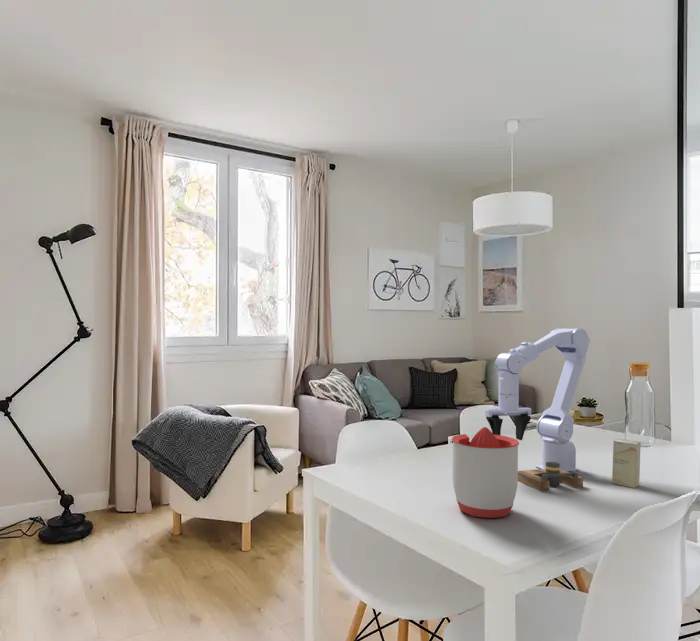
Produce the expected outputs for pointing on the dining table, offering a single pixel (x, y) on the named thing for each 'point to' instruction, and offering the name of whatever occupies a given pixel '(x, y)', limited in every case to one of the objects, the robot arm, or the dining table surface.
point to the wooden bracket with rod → (540, 479)
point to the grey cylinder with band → (553, 469)
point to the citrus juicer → (485, 473)
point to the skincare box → (626, 463)
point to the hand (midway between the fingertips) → (508, 440)
